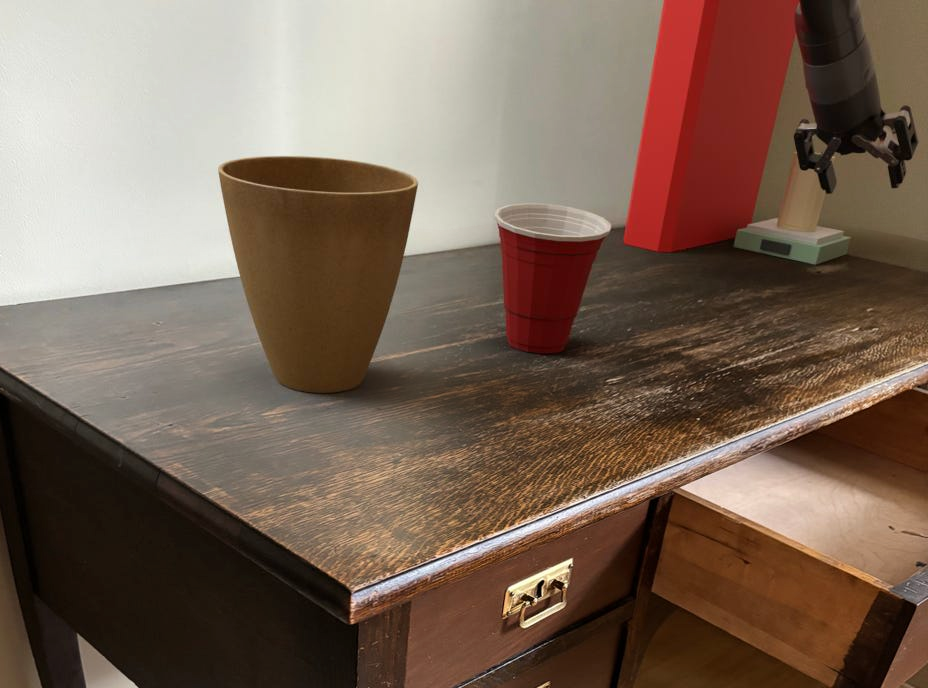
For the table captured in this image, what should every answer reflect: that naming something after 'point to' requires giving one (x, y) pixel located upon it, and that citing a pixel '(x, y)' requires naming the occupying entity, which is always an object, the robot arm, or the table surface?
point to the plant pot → (317, 260)
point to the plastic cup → (545, 270)
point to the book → (708, 120)
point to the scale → (793, 242)
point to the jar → (801, 199)
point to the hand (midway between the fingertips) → (863, 186)
